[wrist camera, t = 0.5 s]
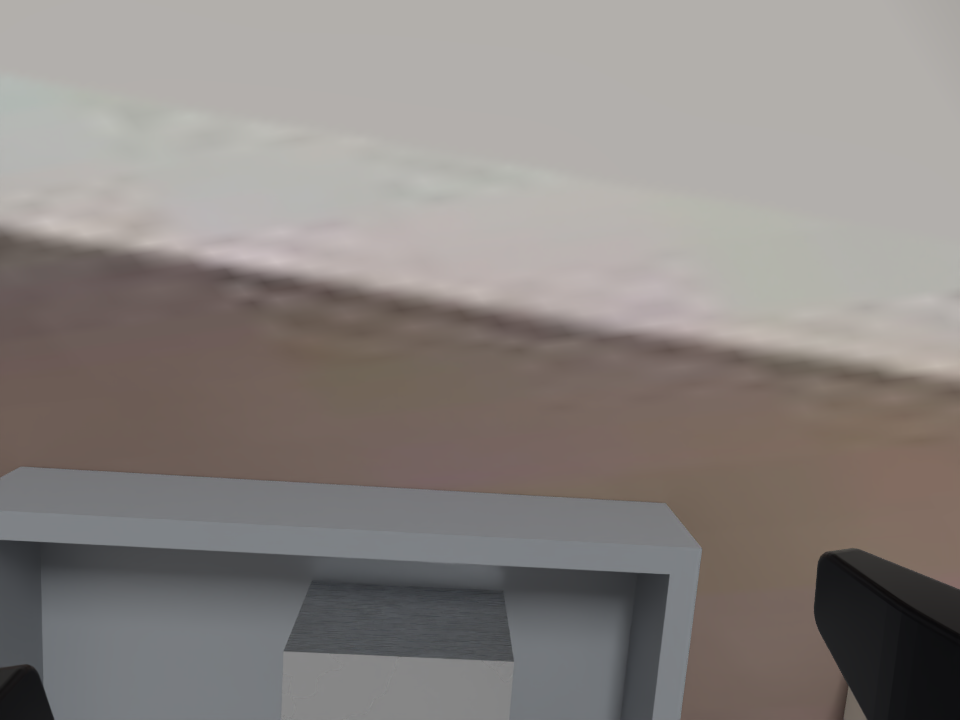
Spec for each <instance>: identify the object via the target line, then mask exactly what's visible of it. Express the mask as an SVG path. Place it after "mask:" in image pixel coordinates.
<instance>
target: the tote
mask: <svg viewBox="0 0 960 720" xmlns="http://www.w3.org/2000/svg"><path fill="white" fill-rule="evenodd" d="M701 553H702V548H701V546H700V545H699V544H698V543H697V541H696V540H695V539H694V538H693V537H692V535H691V534H690V533H689V532H688V530H687V529H686V528H685V527H684V525H683V524H682V523H681V522H680V521H679V519H678V518H677V517H676V516H675V514H674V513H673V512H672V511H671V509H670V508H669V507H668V506H667V504H666V503H653V502H635V501H617V500H600V499H582V498H564V497H547V496H529V495H511V494H494V493H476V492H459V491H441V490H423V489H406V488H388V487H370V486H353V485H335V484H318V483H300V482H282V481H265V480H247V479H229V478H212V477H194V476H176V475H159V474H141V473H124V472H106V471H88V470H71V469H53V468H35V467H19V468H17V469H16V470H14V471H12V472H10V473H8V474H6V475H4V476H3V477H1V478H0V668H1V667H8V666H15V665H22V664H28V665H31V666H33V667H35V669H36V670H37V671H38V673H39V675H40V678H41V681H42V684H43V687H44V690H45V693H46V696H47V699H48V702H49V705H50V707H51V710H52V713H53V716H54V720H281V709H282V680H283V651H284V649H285V646H286V644H287V641H288V639H289V636H290V634H291V631H292V629H293V626H294V624H295V621H296V619H297V616H298V614H299V611H300V609H301V606H302V604H303V601H304V599H305V596H306V594H307V591H308V589H309V586H310V584H311V581H319V582H339V583H359V584H379V585H399V586H419V587H439V588H459V589H479V590H499V591H503V592H504V598H505V605H506V611H507V618H508V625H509V631H510V638H511V644H512V651H513V657H514V670H513V681H512V693H511V704H510V715H509V720H680V717H681V709H682V701H683V694H684V686H685V678H686V670H687V662H688V654H689V647H690V639H691V631H692V623H693V615H694V607H695V600H696V592H697V584H698V576H699V568H700V560H701Z"/></svg>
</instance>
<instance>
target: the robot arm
mask: <svg viewBox="0 0 960 720" xmlns="http://www.w3.org/2000/svg"><path fill="white" fill-rule="evenodd" d="M814 615H815V621H816V624H817V627H818V630H819V632H820V634H821V636H822V638H823V639H824V641H825V643H826V645H827V647H828V649H829V650H830V652H831V654H832V656H833V658H834V660H835V662H836V663H837V665H838V667H839V669H840V671H841V673H842V675H843V676H844V678H845V680H846V682H847V684H848V686H849V687H850V689H851V691H852V693H853V695H854V697H855V699H856V700H857V702H858V704H859V706H860V708H861V710H862V712H863V713H864V715H865V717H866V719H867V720H960V589H957V588H955V587H952V586H950V585H947V584H945V583H942V582H940V581H937V580H935V579H932V578H930V577H927V576H925V575H922V574H920V573H917V572H915V571H912V570H910V569H907V568H905V567H902V566H900V565H897V564H895V563H892V562H890V561H887V560H885V559H882V558H880V557H877V556H875V555H872V554H870V553H867V552H865V551H862V550H860V549H855V548H850V549H843V550H836V551H829V552H825V553H824V554H822V555H821V557H820V559H819V561H818V567H817V579H816V590H815V602H814ZM0 720H54V716H53V713H52V710H51V707H50V705H49V702H48V699H47V696H46V693H45V690H44V687H43V684H42V681H41V678H40V675H39V673H38V671H37V670H36V669H35V667H33V666H31V665H28V664H22V665H15V666H8V667H1V668H0Z"/></svg>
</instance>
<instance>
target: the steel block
mask: <svg viewBox="0 0 960 720" xmlns="http://www.w3.org/2000/svg"><path fill="white" fill-rule="evenodd" d="M513 670H514V657H513V651H512V644H511V638H510V631H509V625H508V618H507V611H506V605H505V598H504V592H503V591H499V590H479V589H459V588H439V587H419V586H399V585H379V584H359V583H339V582H319V581H311V584H310V586H309V589H308V591H307V594H306V596H305V599H304V601H303V604H302V606H301V609H300V611H299V614H298V616H297V619H296V621H295V624H294V626H293V629H292V631H291V634H290V636H289V639H288V641H287V644H286V646H285V649H284V651H283V680H282V709H281V720H509V715H510V704H511V693H512V681H513Z"/></svg>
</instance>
